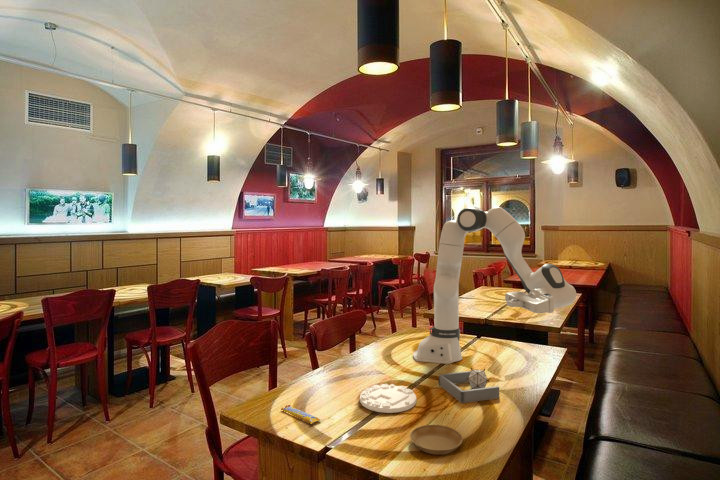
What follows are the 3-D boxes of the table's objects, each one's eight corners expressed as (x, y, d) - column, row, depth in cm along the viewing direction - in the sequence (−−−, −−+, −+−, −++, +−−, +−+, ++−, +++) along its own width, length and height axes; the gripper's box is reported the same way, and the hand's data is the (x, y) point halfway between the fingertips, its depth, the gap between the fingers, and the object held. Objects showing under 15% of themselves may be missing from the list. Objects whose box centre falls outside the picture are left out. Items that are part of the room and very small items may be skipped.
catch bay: (473, 380, 174) (473, 370, 173) (499, 398, 156) (499, 387, 156) (438, 384, 169) (438, 374, 169) (461, 403, 152) (461, 391, 152)
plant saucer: (404, 454, 120) (404, 444, 120) (416, 429, 134) (416, 421, 134) (459, 463, 115) (458, 453, 115) (465, 437, 129) (465, 428, 129)
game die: (481, 398, 165) (495, 376, 166) (480, 398, 157) (495, 375, 158) (460, 383, 169) (475, 361, 170) (459, 383, 161) (474, 360, 162)
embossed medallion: (377, 420, 141) (377, 411, 141) (350, 398, 159) (350, 390, 158) (427, 407, 150) (427, 398, 150) (397, 387, 168) (396, 379, 168)
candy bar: (279, 412, 148) (279, 407, 148) (289, 408, 151) (289, 403, 151) (312, 427, 136) (312, 422, 136) (322, 423, 139) (322, 417, 139)
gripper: (522, 286, 185) (493, 290, 181) (556, 297, 165) (524, 302, 162) (522, 301, 186) (494, 305, 182) (556, 313, 166) (525, 319, 162)
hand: (508, 304), depth 172 cm, fingers closed
